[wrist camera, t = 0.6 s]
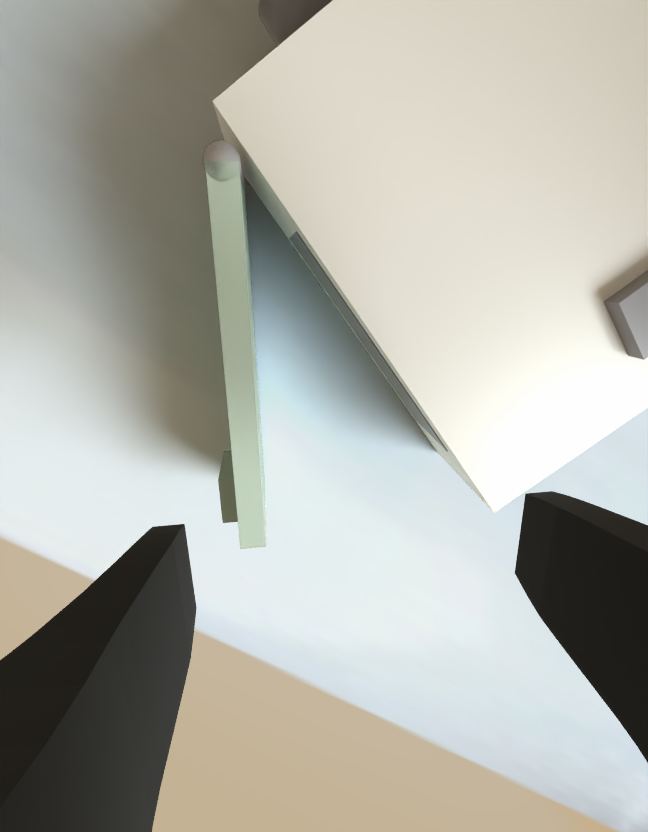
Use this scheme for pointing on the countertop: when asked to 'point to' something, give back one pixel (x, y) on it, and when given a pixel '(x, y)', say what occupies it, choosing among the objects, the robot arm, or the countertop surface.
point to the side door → (236, 345)
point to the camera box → (468, 209)
